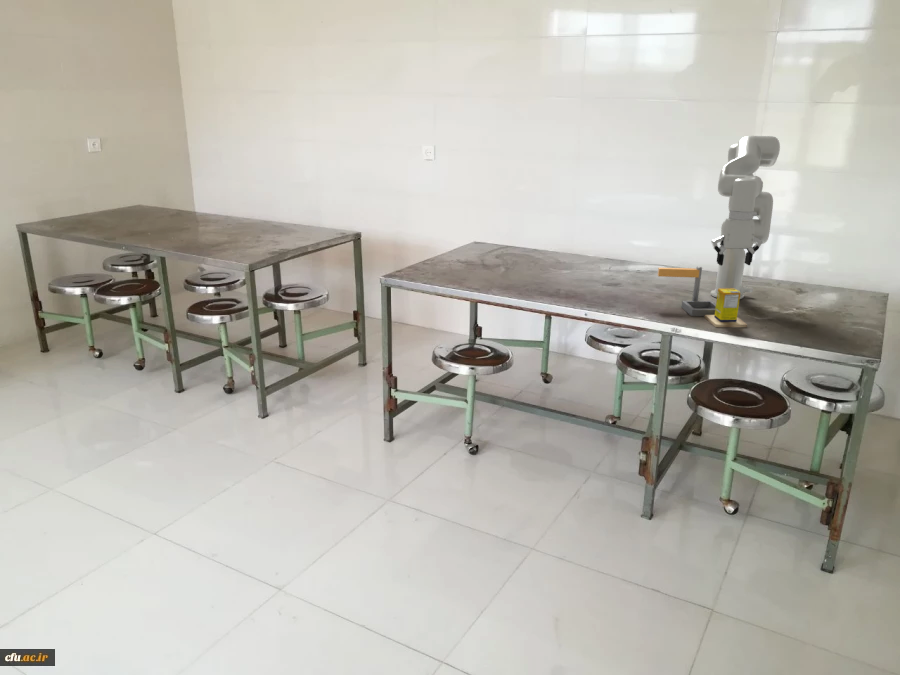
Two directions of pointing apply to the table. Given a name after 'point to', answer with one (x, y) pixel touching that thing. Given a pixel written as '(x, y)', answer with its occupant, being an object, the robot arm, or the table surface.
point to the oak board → (725, 324)
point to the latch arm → (684, 273)
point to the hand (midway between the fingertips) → (733, 264)
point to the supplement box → (727, 305)
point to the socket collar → (690, 306)
